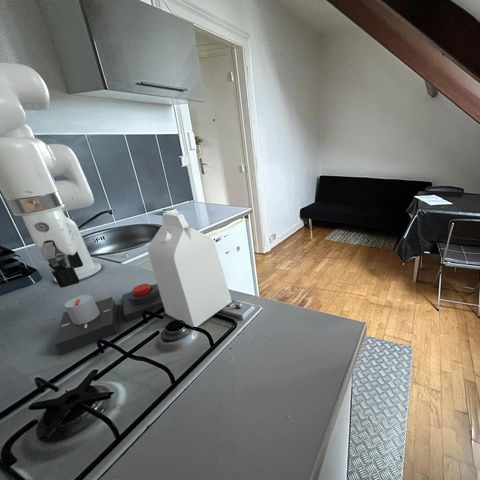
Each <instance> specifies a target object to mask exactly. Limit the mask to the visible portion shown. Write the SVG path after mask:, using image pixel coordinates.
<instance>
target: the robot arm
mask: <svg viewBox="0 0 480 480" xmlns="http://www.w3.org/2000/svg"><path fill="white" fill-rule="evenodd" d="M50 97H51V96H50V92H49V89H48V87H47V84H46V82H45V80H44V79H43V77H42V76H41V75H40V74H39V73H38V72H37V71H36V70H35V69H34V68H32V67H30V66H29V65H25V64H23V63H22V64H21V63H14V62H2V61H0V193H1V194H2V196H3V197H4V199H5V201H6V203H7V205H8V207H9V209H10V211H11V213H12V214H13V216H15V217H22V219H23V223H24V224H25V227H26V229H27V231H28V233H29V235H30V237H31V239H32V241H33V243H34V245H35V248H36V249H37V251H38V253H39V254H40V256H41V258H42V259H43V260H44V261H47V262H48V266H49V268H50V271H51V273H52V275H53V281H54V282H55V283H56V284H58V286H59V287H60V289H61V288H66V287H70V286H74V285H77V284H79V283H80V280H84V279H86V278H88V277H91V276H93V275H95V274H96V273H98V272H99V271H100V270H101V269H102V265H101V263H98V262H94V261H93V259H92V257H91V254H90V252H89V249H88V248H87V245H86V243H85V240H84V239H83V236H82V234H81V232H80V230H79V227H78V225H77V223H76V222H75V221H74V220H73V219H71V218H70V217H67V216H66V214H65V212H68V211H72V210H78V209H83V208H87V207H88V208H89V207H90V206H92V205H94V202H95V198H94V195H93V192H92V189H91V187H90V184H89V182H88V180H87V177H86V175H85V173H84V171H83V168H82V165H81V163H80V161H79V159H78V157H77V156H76V154H75V152H74V151H73V150H72V148H71V147H69V146H68V145H65V144H61V143H49V144H46V143H45V142H44V141H43V140H41V139H39V138H37V137H35V134H34V133H33V129H32V128H31V127H30V126H29V125H28V124H26V120H27V114H26V111H46V110H48V109H49V107H50V101H51V100H50ZM54 177H65V178H66V179H62V180H54V179H53V178H54Z"/></svg>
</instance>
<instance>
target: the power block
mask: <svg viewBox="0 0 480 480" xmlns="http://www.w3.org/2000/svg"><path fill="white" fill-rule="evenodd" d="M149 285H150V288H151V292H150V293H148V294H146V295H143V296H139V297H135V296H134V293H133V290H131V291H130V292H126V293H123V294H122V297H121V298H122V307H123V316H124V319H125V321H126V322H127V321H130V320H133V319H135V318H138V317H141V316H144V315H143V312H144V311H148V312H149V313H152V312H154V311H157V310H159V309H162V308H164V305H163V302H162V299H161V295H160V292H159V288H158V285H157V283H154V284H149Z"/></svg>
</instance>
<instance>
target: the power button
mask: <svg viewBox="0 0 480 480" xmlns="http://www.w3.org/2000/svg"><path fill="white" fill-rule="evenodd" d="M150 285H151V284H150V283H142V284H139V285H137V286H134V287H133V288H132V291H133V293H134V296H135V297H139V296H143V295H146V294H148V293H150V292H151V288H150Z"/></svg>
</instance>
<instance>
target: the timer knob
mask: <svg viewBox="0 0 480 480" xmlns="http://www.w3.org/2000/svg"><path fill="white" fill-rule="evenodd" d="M95 302H96V301H95V299H94V297H93V295H92V294H82V295H78V296H76V297H73V298H71V299H68V301H66V302H65V303H64V308H65V311H66V312H68V314H69V316H70V318H71V319H72V321H73V323H74V324H76V325H79V324H84V323H87V322H90V321H92V320H93V319H95V318H96V317H98V316H99V314H100V312H99V310H98V308H97V306H96V304H95Z"/></svg>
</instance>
